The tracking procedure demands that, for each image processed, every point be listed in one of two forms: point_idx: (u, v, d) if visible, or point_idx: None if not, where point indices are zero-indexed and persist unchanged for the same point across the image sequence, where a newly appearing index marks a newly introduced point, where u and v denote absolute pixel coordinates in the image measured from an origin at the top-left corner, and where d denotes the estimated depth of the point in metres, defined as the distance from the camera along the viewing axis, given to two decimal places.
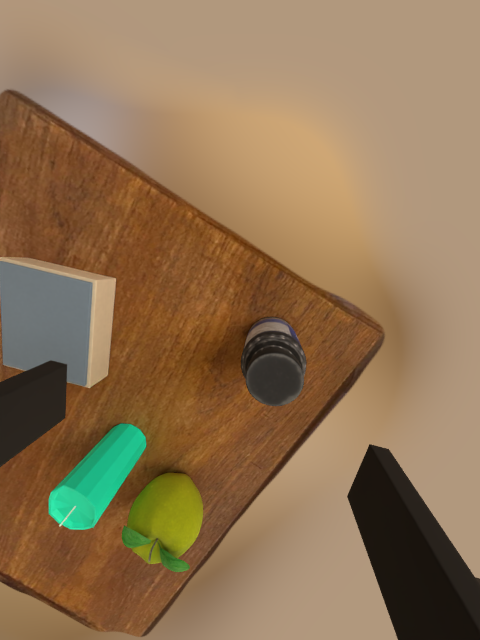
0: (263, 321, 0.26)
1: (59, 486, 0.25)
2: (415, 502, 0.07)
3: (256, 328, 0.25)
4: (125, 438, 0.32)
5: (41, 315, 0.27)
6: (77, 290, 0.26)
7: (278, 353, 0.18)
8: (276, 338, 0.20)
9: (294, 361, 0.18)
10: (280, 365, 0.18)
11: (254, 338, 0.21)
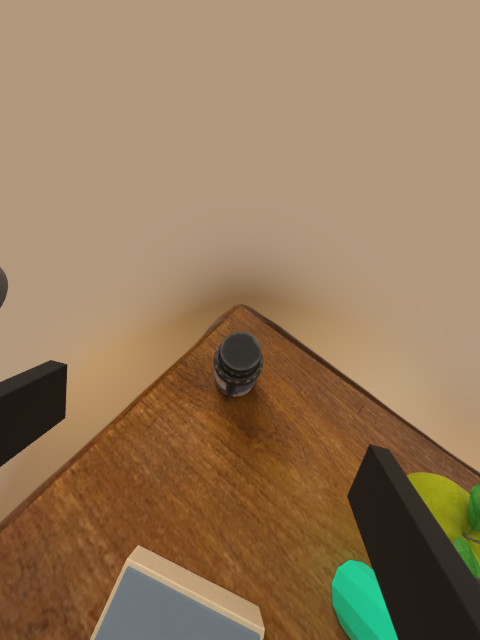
0: None
1: None
2: (415, 502, 0.07)
3: (216, 378, 0.30)
4: (345, 587, 0.23)
5: None
6: (128, 595, 0.21)
7: (221, 345, 0.26)
8: (217, 353, 0.28)
9: (228, 335, 0.26)
10: (230, 344, 0.26)
11: (216, 370, 0.27)
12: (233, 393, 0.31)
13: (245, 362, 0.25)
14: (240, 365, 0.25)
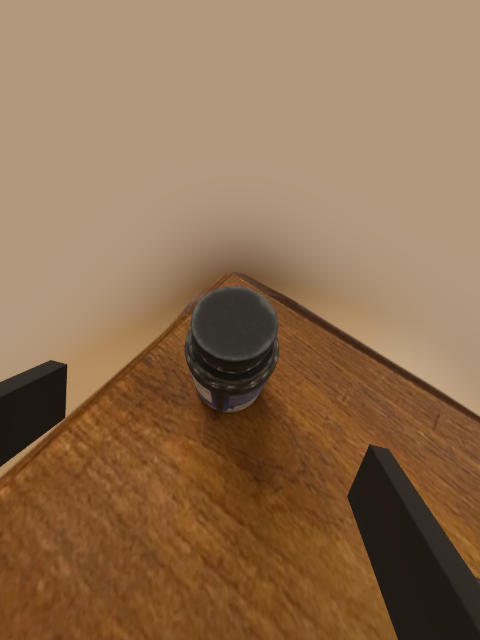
0: None
1: None
2: (415, 502, 0.07)
3: (194, 382, 0.17)
4: None
5: None
6: None
7: None
8: (190, 333, 0.14)
9: (208, 293, 0.13)
10: (211, 310, 0.12)
11: (189, 367, 0.14)
12: (226, 407, 0.17)
13: (245, 343, 0.12)
14: (235, 350, 0.11)
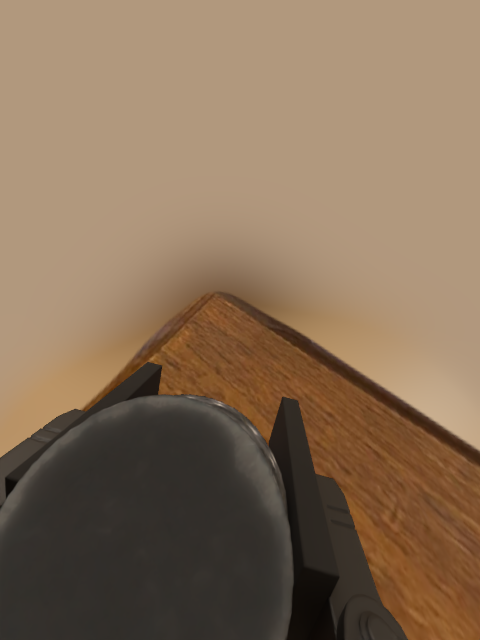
0: None
1: None
2: (297, 430, 0.09)
3: None
4: None
5: None
6: None
7: None
8: None
9: (73, 429, 0.04)
10: (65, 507, 0.04)
11: None
12: None
13: None
14: None
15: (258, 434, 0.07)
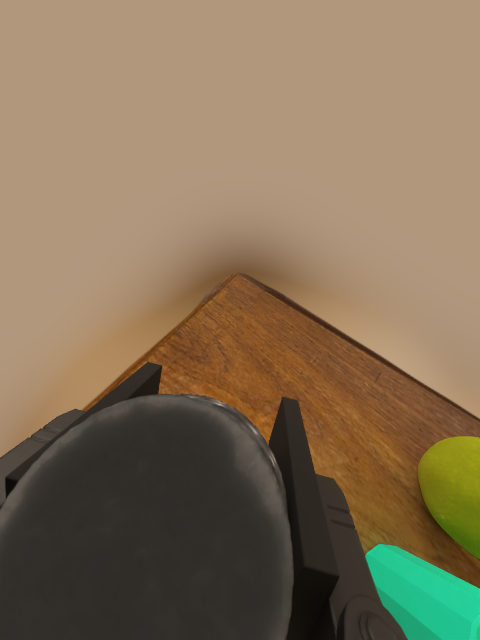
0: None
1: None
2: (297, 430, 0.09)
3: None
4: (379, 574, 0.19)
5: None
6: None
7: None
8: None
9: (74, 429, 0.04)
10: (65, 505, 0.04)
11: None
12: None
13: None
14: None
15: (258, 434, 0.07)
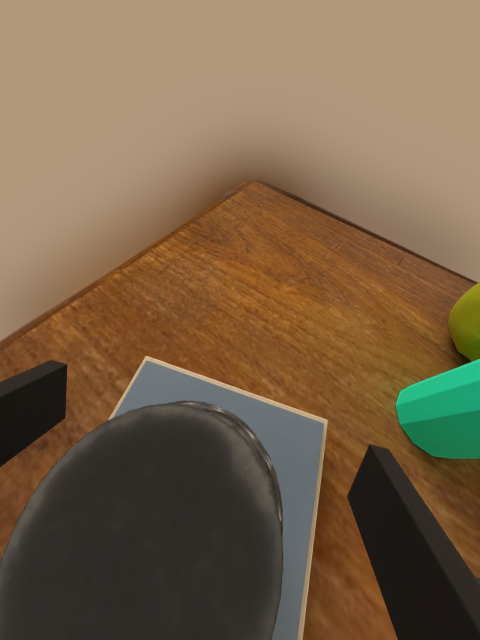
0: None
1: None
2: (415, 502, 0.07)
3: None
4: (417, 391, 0.19)
5: None
6: (151, 384, 0.16)
7: (20, 515, 0.04)
8: None
9: (88, 436, 0.05)
10: (82, 505, 0.04)
11: None
12: None
13: None
14: None
15: (255, 438, 0.07)
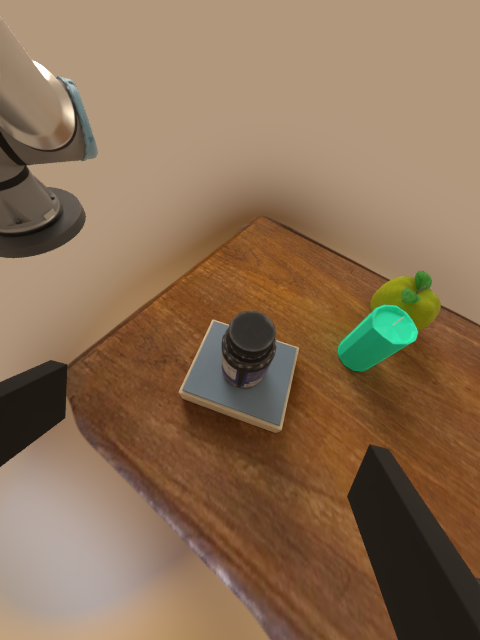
0: (222, 366, 0.29)
1: (376, 332, 0.30)
2: (415, 502, 0.07)
3: (224, 367, 0.28)
4: (345, 338, 0.38)
5: None
6: (217, 331, 0.35)
7: (229, 325, 0.23)
8: (225, 336, 0.25)
9: (237, 315, 0.24)
10: (239, 324, 0.23)
11: (225, 356, 0.25)
12: (244, 383, 0.28)
13: (258, 342, 0.22)
14: (253, 346, 0.22)
15: None
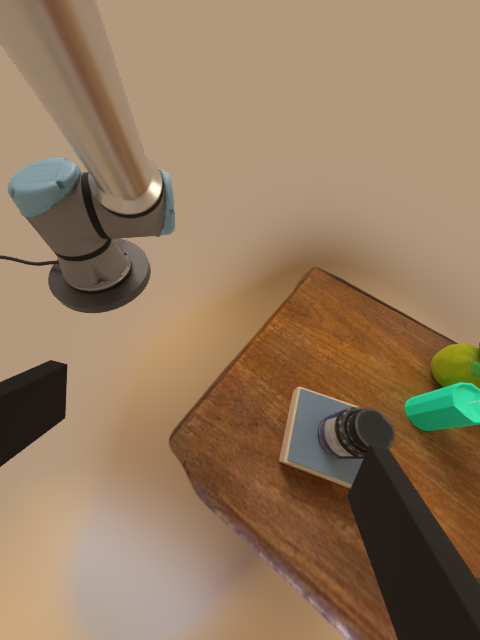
0: (324, 440, 0.34)
1: (457, 410, 0.34)
2: (415, 502, 0.07)
3: (332, 445, 0.32)
4: (414, 401, 0.42)
5: None
6: (306, 399, 0.39)
7: (355, 424, 0.27)
8: (342, 426, 0.29)
9: (358, 413, 0.28)
10: (363, 423, 0.27)
11: (343, 444, 0.29)
12: (347, 458, 0.32)
13: (382, 442, 0.26)
14: (379, 445, 0.26)
15: None
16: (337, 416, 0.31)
